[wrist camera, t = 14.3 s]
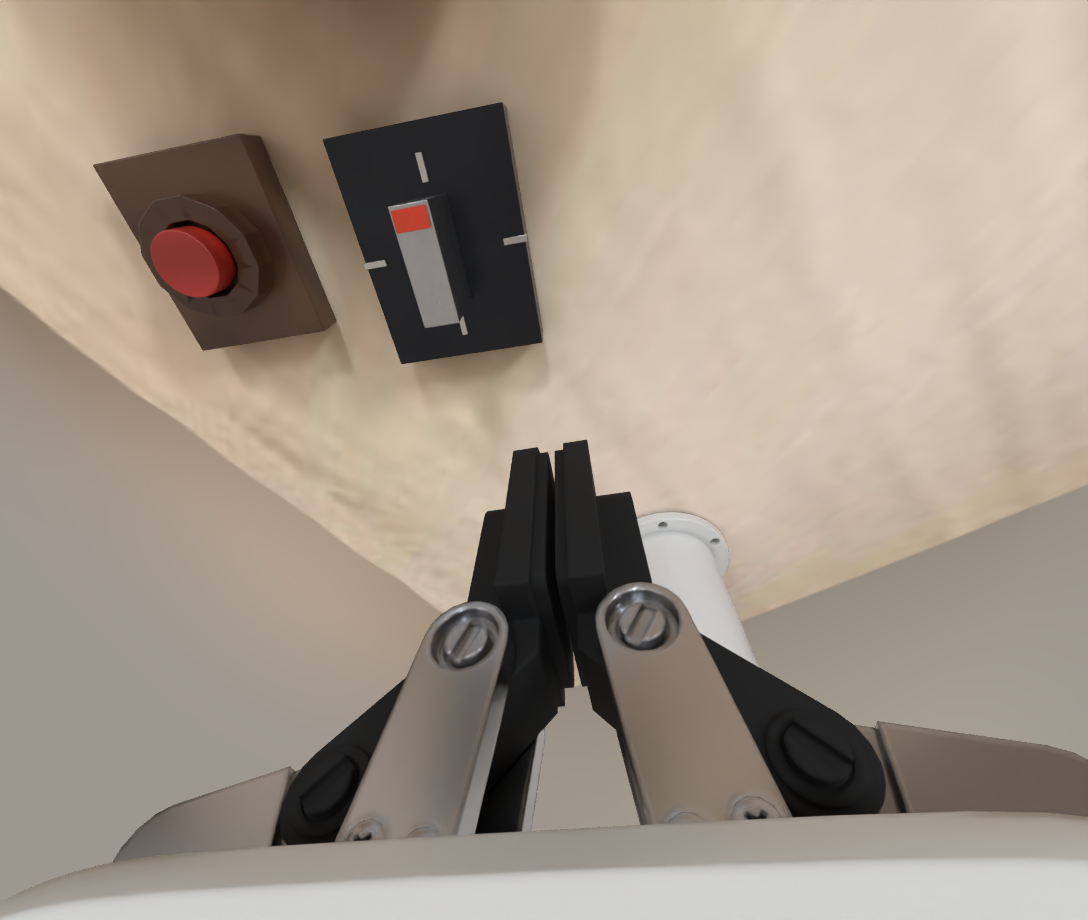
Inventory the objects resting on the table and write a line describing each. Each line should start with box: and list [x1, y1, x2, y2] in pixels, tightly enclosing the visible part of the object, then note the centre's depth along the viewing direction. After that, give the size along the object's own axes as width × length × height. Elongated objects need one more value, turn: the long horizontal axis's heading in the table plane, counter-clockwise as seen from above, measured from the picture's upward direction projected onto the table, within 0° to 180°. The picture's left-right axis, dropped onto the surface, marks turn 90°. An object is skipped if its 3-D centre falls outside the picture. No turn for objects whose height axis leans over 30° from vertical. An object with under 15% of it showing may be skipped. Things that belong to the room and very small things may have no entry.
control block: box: [93, 134, 336, 351], centre depth 28 cm, size 11×9×4 cm
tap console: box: [323, 102, 543, 364], centre depth 29 cm, size 13×10×3 cm
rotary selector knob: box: [388, 193, 472, 328], centre depth 25 cm, size 6×2×5 cm, turn 9°
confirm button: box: [150, 226, 236, 298], centre depth 26 cm, size 4×4×2 cm
